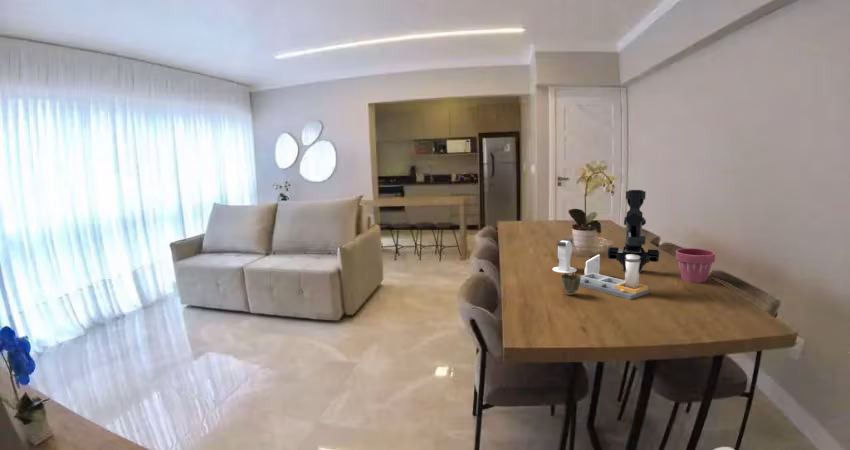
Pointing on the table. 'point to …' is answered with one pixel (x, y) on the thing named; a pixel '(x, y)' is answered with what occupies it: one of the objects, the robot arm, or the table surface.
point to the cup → (570, 283)
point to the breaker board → (612, 286)
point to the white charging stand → (564, 257)
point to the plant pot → (694, 264)
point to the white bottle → (632, 271)
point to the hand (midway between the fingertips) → (632, 271)
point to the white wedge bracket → (592, 265)
